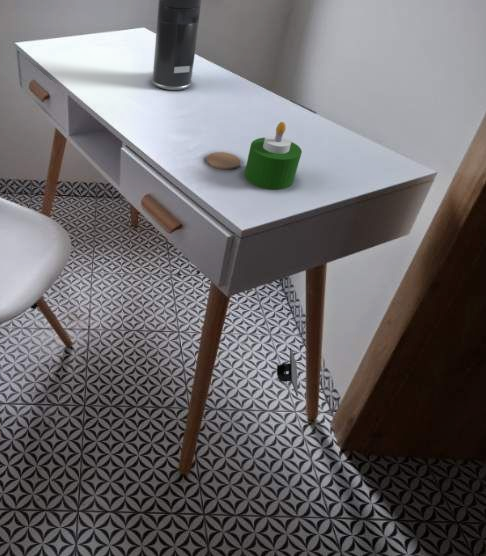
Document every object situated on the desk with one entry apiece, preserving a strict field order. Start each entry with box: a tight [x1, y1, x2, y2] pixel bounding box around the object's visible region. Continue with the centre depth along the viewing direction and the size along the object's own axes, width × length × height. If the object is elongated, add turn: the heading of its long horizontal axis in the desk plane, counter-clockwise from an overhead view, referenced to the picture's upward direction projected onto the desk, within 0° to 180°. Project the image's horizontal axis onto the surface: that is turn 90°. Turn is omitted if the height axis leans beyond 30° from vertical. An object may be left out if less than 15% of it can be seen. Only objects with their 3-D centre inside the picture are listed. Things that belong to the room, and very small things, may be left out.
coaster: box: [206, 151, 241, 170], centre depth 93 cm, size 6×6×1 cm
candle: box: [244, 121, 303, 191], centre depth 86 cm, size 8×8×10 cm
